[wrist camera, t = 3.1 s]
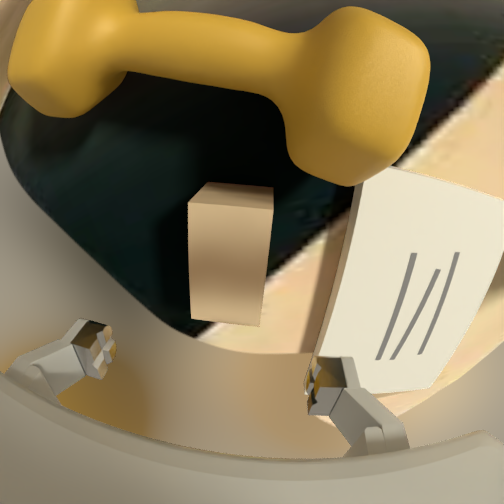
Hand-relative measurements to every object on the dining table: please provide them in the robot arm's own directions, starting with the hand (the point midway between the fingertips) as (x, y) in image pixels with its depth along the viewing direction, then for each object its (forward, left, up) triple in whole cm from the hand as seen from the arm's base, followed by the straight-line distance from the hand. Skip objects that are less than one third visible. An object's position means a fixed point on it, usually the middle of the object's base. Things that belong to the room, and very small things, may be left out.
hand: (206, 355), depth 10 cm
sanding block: (-1, 0, -10) cm, 10 cm away
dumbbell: (-12, -2, -10) cm, 15 cm away
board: (+3, +14, -10) cm, 17 cm away
